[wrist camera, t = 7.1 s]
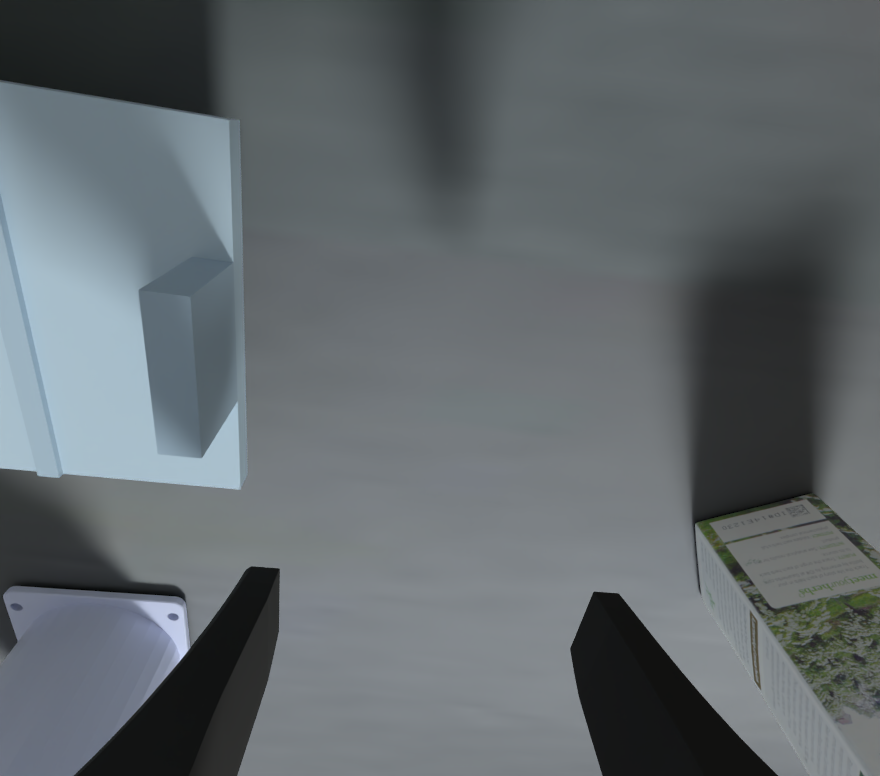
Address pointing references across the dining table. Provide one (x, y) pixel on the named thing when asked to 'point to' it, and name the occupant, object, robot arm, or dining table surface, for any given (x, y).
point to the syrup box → (802, 624)
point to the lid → (120, 290)
